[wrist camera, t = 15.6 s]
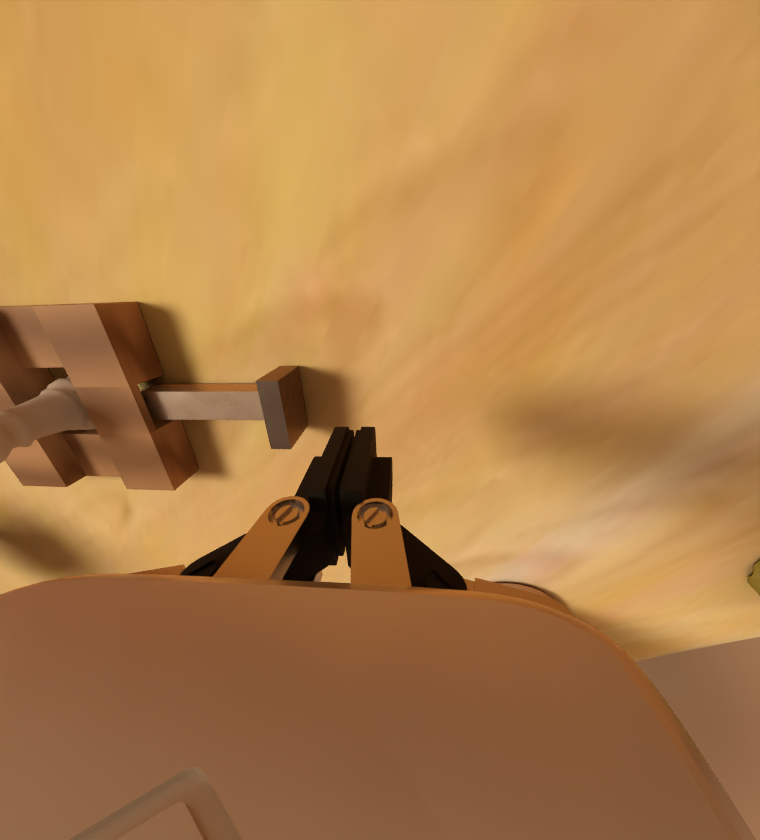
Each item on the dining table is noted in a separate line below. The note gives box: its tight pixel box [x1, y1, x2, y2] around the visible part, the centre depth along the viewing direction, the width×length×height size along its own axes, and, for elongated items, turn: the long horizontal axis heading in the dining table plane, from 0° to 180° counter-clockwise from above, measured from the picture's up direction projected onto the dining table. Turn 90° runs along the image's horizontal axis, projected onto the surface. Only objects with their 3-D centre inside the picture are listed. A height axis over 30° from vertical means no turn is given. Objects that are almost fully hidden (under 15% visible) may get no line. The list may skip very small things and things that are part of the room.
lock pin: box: [140, 366, 308, 449], centre depth 20 cm, size 5×11×4 cm, turn 92°
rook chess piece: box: [0, 376, 96, 463], centre depth 20 cm, size 4×4×8 cm
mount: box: [0, 302, 199, 490], centre depth 22 cm, size 14×14×3 cm
